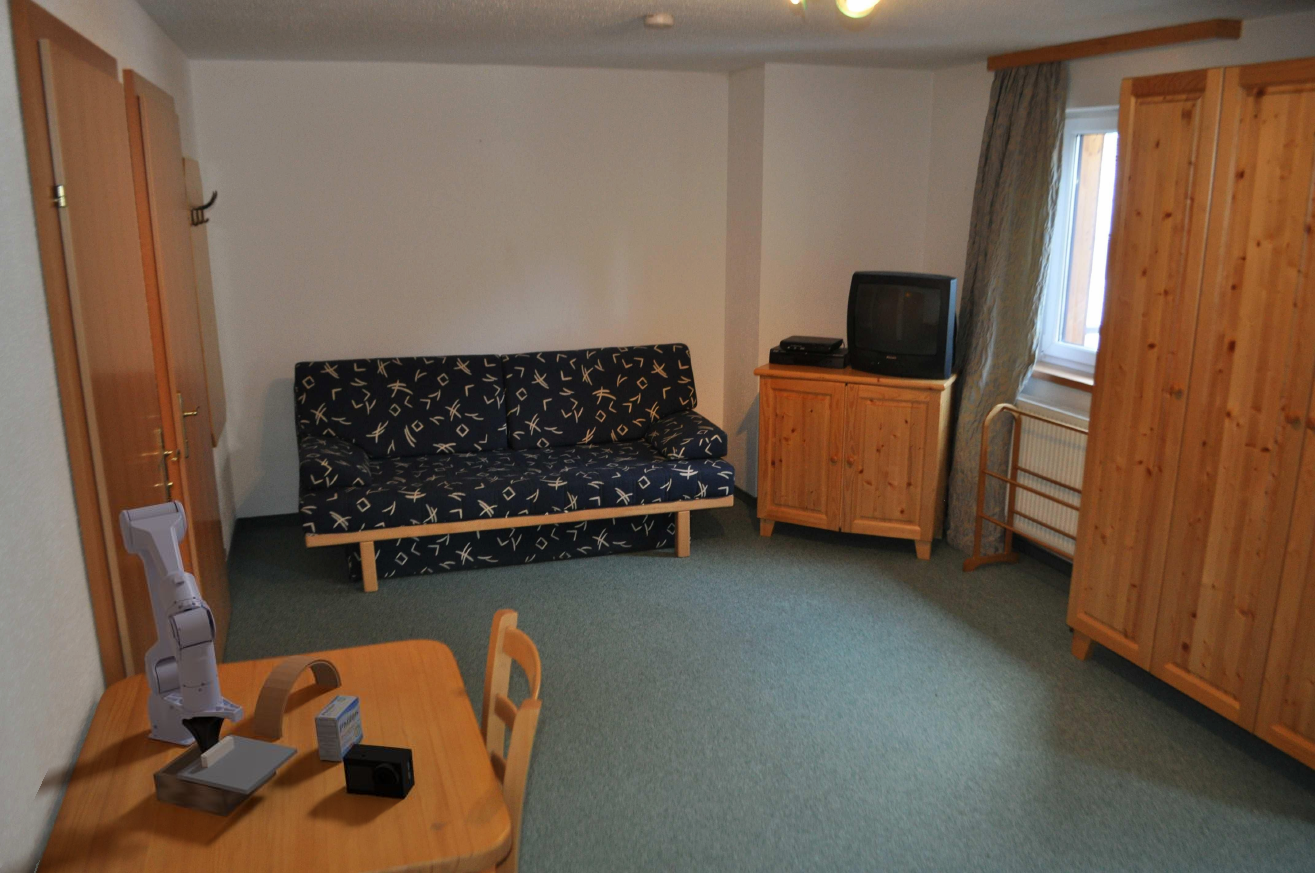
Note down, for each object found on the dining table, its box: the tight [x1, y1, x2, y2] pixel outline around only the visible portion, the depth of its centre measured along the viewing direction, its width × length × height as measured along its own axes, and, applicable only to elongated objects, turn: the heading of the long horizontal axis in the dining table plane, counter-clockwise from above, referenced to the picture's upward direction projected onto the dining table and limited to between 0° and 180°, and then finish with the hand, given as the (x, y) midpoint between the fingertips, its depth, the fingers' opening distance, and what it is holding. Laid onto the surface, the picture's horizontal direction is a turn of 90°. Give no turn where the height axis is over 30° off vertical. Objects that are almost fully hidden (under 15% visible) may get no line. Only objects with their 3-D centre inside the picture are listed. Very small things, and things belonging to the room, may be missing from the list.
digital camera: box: [342, 743, 416, 800], centre depth 161 cm, size 10×5×7 cm, turn 80°
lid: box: [177, 734, 299, 794], centre depth 161 cm, size 14×12×3 cm
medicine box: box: [314, 694, 364, 763], centre depth 173 cm, size 8×4×9 cm, turn 168°
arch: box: [252, 655, 343, 740], centre depth 187 cm, size 6×20×10 cm, turn 164°
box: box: [152, 737, 277, 818], centre depth 163 cm, size 14×12×5 cm
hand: (210, 751), depth 162 cm, fingers closed
